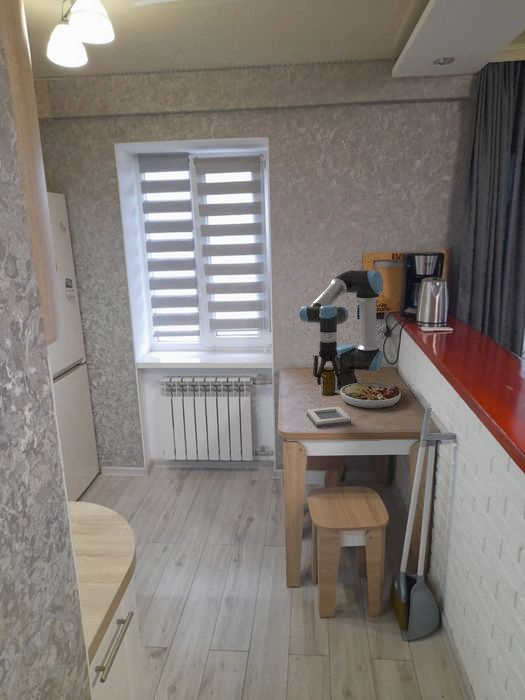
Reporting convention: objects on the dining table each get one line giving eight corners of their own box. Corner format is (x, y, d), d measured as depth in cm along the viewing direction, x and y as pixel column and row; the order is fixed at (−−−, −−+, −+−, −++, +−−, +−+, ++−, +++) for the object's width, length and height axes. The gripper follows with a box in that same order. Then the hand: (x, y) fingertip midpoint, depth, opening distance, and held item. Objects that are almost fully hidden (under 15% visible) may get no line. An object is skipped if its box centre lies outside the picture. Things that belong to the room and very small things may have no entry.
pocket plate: (306, 415, 221) (306, 409, 221) (338, 411, 224) (338, 406, 224) (316, 427, 206) (316, 422, 205) (351, 424, 209) (351, 418, 208)
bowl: (341, 410, 227) (341, 394, 225) (339, 391, 256) (339, 377, 254) (404, 411, 223) (405, 395, 221) (395, 391, 252) (396, 377, 250)
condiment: (318, 392, 215) (318, 367, 212) (335, 390, 217) (335, 365, 214) (324, 397, 208) (324, 371, 205) (341, 395, 210) (342, 369, 207)
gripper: (309, 343, 201) (310, 395, 207) (351, 341, 205) (351, 391, 210) (305, 340, 209) (305, 390, 214) (345, 337, 212) (345, 386, 217)
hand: (328, 390), depth 212 cm, fingers closed on condiment, 6 cm apart
